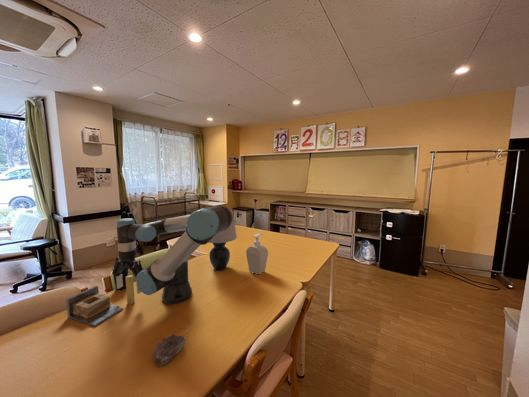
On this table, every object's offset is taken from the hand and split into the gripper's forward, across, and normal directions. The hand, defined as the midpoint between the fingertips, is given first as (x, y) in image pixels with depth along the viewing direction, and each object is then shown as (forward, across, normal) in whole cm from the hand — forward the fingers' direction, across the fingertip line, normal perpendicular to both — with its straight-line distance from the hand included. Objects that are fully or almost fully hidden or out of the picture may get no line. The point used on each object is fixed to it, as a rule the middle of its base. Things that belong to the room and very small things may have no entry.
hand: (129, 290), depth 112 cm
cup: (+7, +18, -9) cm, 21 cm away
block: (+6, +10, +12) cm, 16 cm away
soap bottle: (+6, -48, -56) cm, 74 cm away
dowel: (+7, 0, 0) cm, 7 cm away
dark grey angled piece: (+7, +7, +12) cm, 16 cm away
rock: (+7, -42, +19) cm, 47 cm away
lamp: (+7, -21, -52) cm, 57 cm away
